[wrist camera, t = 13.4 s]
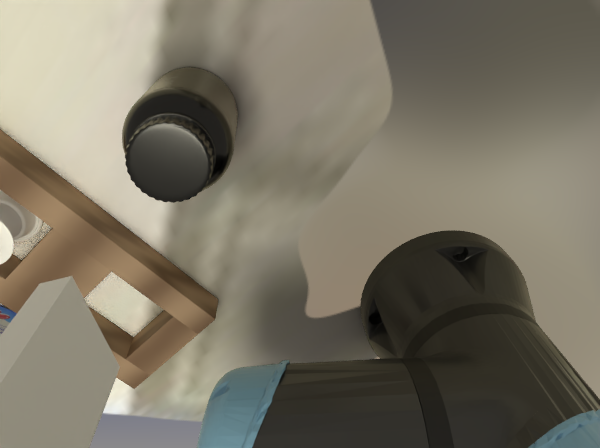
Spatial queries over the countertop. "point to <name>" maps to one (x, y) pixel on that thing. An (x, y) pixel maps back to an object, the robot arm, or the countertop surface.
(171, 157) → the supplement bottle
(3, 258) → the candle
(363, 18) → the countertop surface
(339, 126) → the countertop surface
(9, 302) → the rack block
